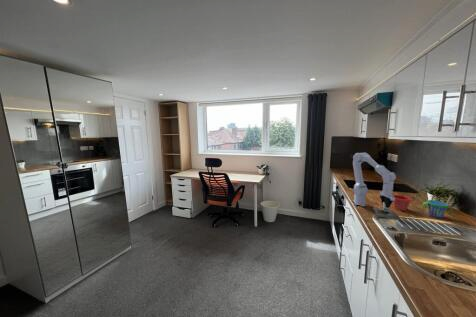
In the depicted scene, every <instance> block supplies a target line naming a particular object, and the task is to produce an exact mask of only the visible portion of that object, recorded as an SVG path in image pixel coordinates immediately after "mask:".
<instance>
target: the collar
mask: <svg viewBox="0 0 476 317" xmlns="http://www.w3.org/2000/svg"><path fill="white" fill-rule="evenodd" d="M373 211H374V212H373ZM372 212H373V213H374V214H375V215H376V216H377V217H378V218H384V219H394V220H399V218H400V216H399V215H398V214H397V213H395V212H394V211H393V210H392V209H389V212H383V211H382V208H377V207H372Z"/></svg>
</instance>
